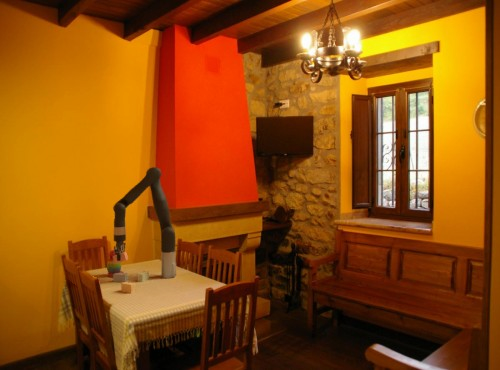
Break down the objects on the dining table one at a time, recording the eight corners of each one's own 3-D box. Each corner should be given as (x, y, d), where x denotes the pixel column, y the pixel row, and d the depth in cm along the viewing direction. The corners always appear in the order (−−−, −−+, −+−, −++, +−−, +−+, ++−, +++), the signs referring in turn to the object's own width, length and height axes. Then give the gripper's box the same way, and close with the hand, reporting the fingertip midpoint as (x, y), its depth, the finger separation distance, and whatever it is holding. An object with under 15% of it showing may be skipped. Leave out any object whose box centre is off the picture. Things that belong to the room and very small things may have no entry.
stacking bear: (119, 277, 272) (118, 251, 272) (104, 277, 273) (104, 251, 272) (124, 273, 283) (124, 248, 283) (110, 273, 284) (109, 248, 283)
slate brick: (127, 280, 265) (127, 273, 264) (125, 282, 261) (125, 274, 261) (115, 280, 265) (115, 273, 265) (113, 282, 262) (113, 274, 262)
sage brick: (144, 278, 270) (143, 271, 270) (148, 278, 269) (148, 271, 269) (137, 281, 262) (137, 274, 262) (142, 282, 262) (142, 274, 261)
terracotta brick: (128, 259, 263) (126, 251, 263) (126, 260, 260) (123, 252, 260) (117, 262, 264) (114, 255, 264) (114, 263, 261) (112, 256, 260)
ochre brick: (135, 291, 241) (135, 283, 241) (131, 293, 238) (131, 285, 237) (125, 289, 244) (125, 281, 244) (121, 291, 241) (121, 283, 241)
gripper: (121, 235, 254) (121, 262, 255) (129, 232, 268) (129, 257, 269) (109, 235, 255) (109, 262, 255) (118, 231, 269) (118, 257, 269)
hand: (120, 259), depth 262 cm, fingers closed on terracotta brick, 3 cm apart
